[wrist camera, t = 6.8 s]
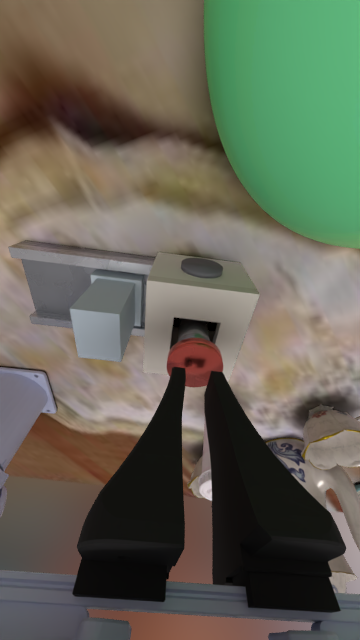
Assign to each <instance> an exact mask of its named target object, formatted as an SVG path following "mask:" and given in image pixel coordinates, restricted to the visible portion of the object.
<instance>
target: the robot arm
mask: <svg viewBox="0 0 360 640" xmlns="http://www.w3.org/2000/svg"><path fill="white" fill-rule="evenodd" d="M185 382H186V371H185V368H181V367H173V368H172V372H171V377H170V380H169V383H168V386H167V389H166V391H165V393H164V396H163V398H162V400H161V402H160V404H159V406H158V408H157V410H156V412H155V414H154V416H153V418H152V420H151V422H150V423H149V425H148V427H147V428H146V430H145V432H144V433H143V435H142V436H141V438H140V439H139V441H138V443H137V444H136V445H135V447H134V448H133V450H132V451H131V453H130V454H129V455H128V457H127V458H126V459H125V461H124V462H123V464H122V465H121V466H120V468H119V469H118V470H117V472H116V473H115V474H114V475H113V477H112V478H111V479H110V480H109V481H108V483H107V484H106V485H105V486H104V488H103V489H102V490H101V492H100V493H99V495H98V497H97V499H96V500H95V502H94V504H93V506H92V508H91V510H90V511H89V513H88V515H87V518H86V520H85V522H84V525H83V528H82V531H81V534H80V538H79V541H78V544H77V548H78V551H79V553H80V554H81V557H82V560H81V563H80V567H79V570H78V574H77V575H66V574H65V575H64V574H50V573H36V572H21V571H6V570H0V640H130V636H131V626H130V625H129V622H128V621H122V620H113V619H104V618H89V613H88V611H87V609H102V610H119V611H134V612H151V613H167V614H184V615H199V616H200V615H201V616H217V617H233V618H250V619H265V620H281V621H298V622H313V624H312V627H311V631H292V630H289V631H287V632H281V633H270V634H269V636H268V638H269V640H360V594H346V593H334V590H333V587H332V584H331V582H330V579H329V577H332V572H331V569H330V566H329V564H328V561H330V560H332V559H335V558H337V557H339V556H341V555H343V554H344V553H345V550H346V546H345V544H344V542H343V539H342V537H341V534H340V532H339V530H338V528H337V525H336V523H335V521H334V520H333V518H332V515H331V513H330V512H329V511H327V510H326V509H325V508H324V507H323V506H322V505H321V504H320V503H319V502H318V501H317V500H316V499H315V498H314V497H313V496H312V495H311V494H310V493H309V492H308V491H307V490H306V489H305V488H304V487H303V486H302V485H301V484H300V483H299V482H298V481H297V479H296V478H295V477H294V476H293V475H292V474H291V473H290V472H289V471H288V469H287V468H286V467H285V466H284V465H283V464H282V463H281V461H280V460H279V459H278V458H277V457H276V456H275V454H274V453H273V452H272V451H271V449H270V448H269V447H268V446H267V444H266V443H265V442H264V440H263V439H262V438H261V436H260V435H259V434H258V432H257V431H256V429H255V428H254V426H253V425H252V423H251V422H250V420H249V419H248V417H247V416H246V414H245V413H244V411H243V409H242V408H241V406H240V404H239V402H238V401H237V399H236V397H235V395H234V394H233V392H232V390H231V388H230V386H229V384H228V382H227V380H226V378H225V376H224V374H223V372H218V371H211V374H210V377H209V381H208V384H207V388H206V391H205V395H204V396H205V419H206V427H207V435H208V443H209V451H210V461H211V482H212V525H213V569H212V571H213V572H212V574H213V584H199V583H183V582H169V581H166V579H168V578H169V572H170V570H171V568H172V566H175V565H176V563H177V561H178V559H179V557H180V555H181V553H182V551H183V550H184V536H185V534H184V533H185V530H184V529H185V521H184V501H183V476H182V409H183V400H184V391H185ZM56 411H57V408H56V405H55V401H54V398H53V395H52V392H51V389H50V385H49V382H48V379H47V376H46V373H44V372H42V371H33V370H24V369H14V368H5V367H0V517H1V515H2V513H3V510H4V507H5V503H6V496H7V489H6V487H5V486H4V483H5V481H6V480H7V478H8V476H9V475H8V474H6V473H4V471H5V469H6V468H7V466H8V464H9V463H10V461H11V460H12V458H13V456H14V455H15V453H16V452H17V450H18V448H19V447H20V445H21V444H22V442H23V440H24V439H25V437H26V435H27V434H28V432H29V431H30V429H31V427H32V426H33V424H34V423H35V421H36V419H37V418H38V416H39V415H40V413H41V412H44V413H56Z"/></svg>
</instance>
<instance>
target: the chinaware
mask: <svg viewBox="0 0 360 640" xmlns="http://www.w3.org/2000/svg"><path fill="white" fill-rule="evenodd" d="M333 408H334V407H329V406H323V405H322V404H321V405H320V406H318V407H315V408H313V409H311V410H308V411H309V417H308V420H307V421H306V423H305V426H304V430H303V439H304V441H303V440H300V439H296V438H277V439H273V440H270V441H267V442H265V443H266V444H267V446H268V447H269V448H270V449H271V451H272V452H273V453H274V454H275V456H276V457H277V458H278V459H279V460H280V461H281V463H282V464H283V465H284V466H285V467H286V468H287V469H288V471H289V472H290V473H291V474H292V475H293V476H294V477H295V478H296V479H297V481H298V482H299V483H300V484H301V485H302V486H303V487H304V488H305V489H306V490H307V491H308V492H309V493H310V494H311V495H312V496H313V497H314V498H315V499H316V500H317V501H318V502H319V503H320V504H321V505H322V506H323V507H324V508H325V509H326V510H327V507H326V490H327V489H329V488H332V489H333V490H334V491H335V493H336V495H337V497H338V499H339V501H340V504H341V507H342V509H343V512H344V515H345V518H346V520H347V523H348V526H349V529H350V531H351V534H352V536H353V539H354V541H355V543H356V545H357V547H358V548H359V550H360V500H359V497H358V494H357V491H356V489H355V486H354V484H353V483H352V481H351V479H350V477H349V476H348V474H347V473H346V472H345V470H344V469H343V468H342V467H341V466H344V467H348V468H353V467H360V422H359V421H358V420H359V419H360V416H359V417H357V418H353V417H352V416H350V415H348V413H347V412H340V411H336V410H332V409H333ZM202 458H203V456H202V457H201V458H200V459H199V460H198V462H197V463H196V466H195V469H194V471H193V472H192V475H191V480H190V481H189V482H188V484H187V485H188V488H191V490H192V493H193V494H194V495H195V496H196V497H197V498H205V497H203V496H202V495H201V494H200V492H199V482H198V479H199V476H200V475H201V474H202ZM328 564H329V566H330V569H331V572H332V577H329V579H330V582H331V584H332V587H333V590H334V593H346V582H350V581H351V580H356V578H357V576H356V575H355V574H354V573H353V571H352V570H351V568H350V566H349V565H348V563H347V561H346V559H345V557H344V556H343V555H341V556H339V557H337V558H335V559H332V560H330V561H328Z"/></svg>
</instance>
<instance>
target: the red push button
mask: <svg viewBox="0 0 360 640" xmlns="http://www.w3.org/2000/svg"><path fill="white" fill-rule="evenodd" d="M173 367H181V368H185V371H186V382H185V386H188V387H202V386H206V385H207V384H208V381H209V377H210V374H211V371H218V372H223V361H222V355H221V352H220V350H219V348H218V347H217V346H216V345H215V344H214V343H212V342H211V341H210V339H209V332H208V324H207V321H201V320H193V319H184V318H180V321H179V335H178V342H177V343H176V344H175V345H173V346H172V348H171V349H170V351H169V353H168V358H167V372H168V374H169V376H170V377H171V372H172V368H173Z"/></svg>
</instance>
